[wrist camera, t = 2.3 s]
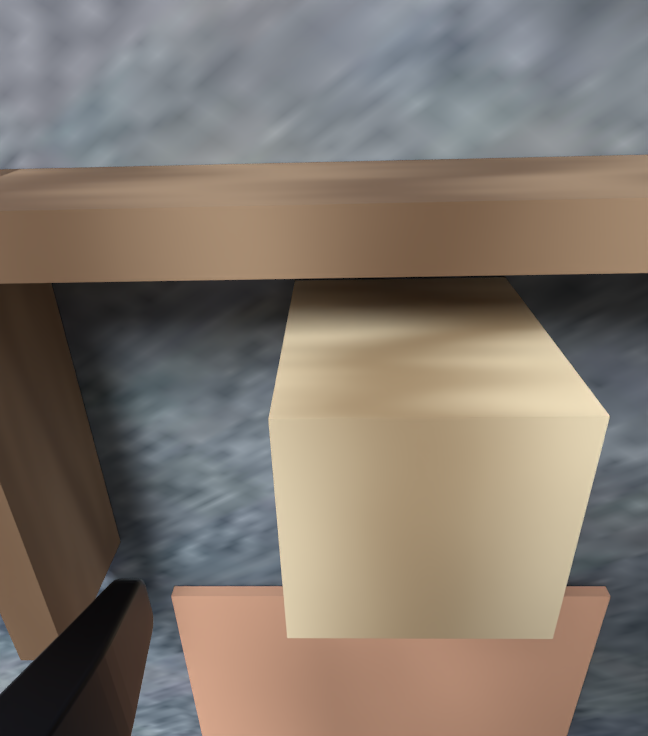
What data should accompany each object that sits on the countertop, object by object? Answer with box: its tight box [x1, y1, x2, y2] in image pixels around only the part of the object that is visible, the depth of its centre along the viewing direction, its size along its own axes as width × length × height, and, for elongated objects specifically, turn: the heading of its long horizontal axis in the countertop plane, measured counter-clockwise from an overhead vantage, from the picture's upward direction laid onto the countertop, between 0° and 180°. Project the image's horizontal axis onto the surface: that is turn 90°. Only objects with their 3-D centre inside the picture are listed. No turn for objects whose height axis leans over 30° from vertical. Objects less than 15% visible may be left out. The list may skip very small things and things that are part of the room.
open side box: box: [0, 155, 648, 660], centre depth 13 cm, size 19×11×4 cm, turn 91°
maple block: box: [268, 277, 610, 639], centre depth 12 cm, size 5×5×6 cm
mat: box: [171, 586, 610, 736], centre depth 22 cm, size 14×14×1 cm
